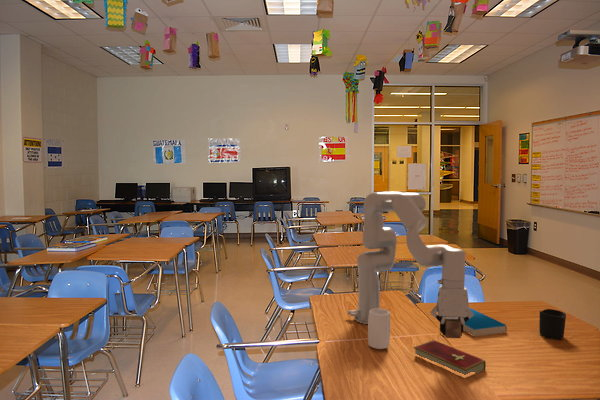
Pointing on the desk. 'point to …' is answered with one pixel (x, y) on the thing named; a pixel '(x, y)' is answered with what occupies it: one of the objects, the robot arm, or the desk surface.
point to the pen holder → (552, 324)
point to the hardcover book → (450, 357)
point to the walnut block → (452, 327)
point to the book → (483, 325)
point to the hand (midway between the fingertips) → (451, 333)
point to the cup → (379, 328)
